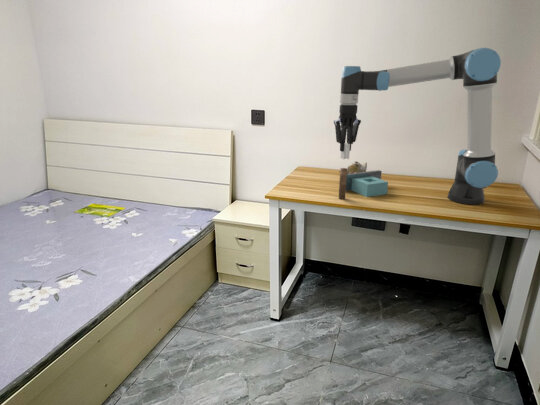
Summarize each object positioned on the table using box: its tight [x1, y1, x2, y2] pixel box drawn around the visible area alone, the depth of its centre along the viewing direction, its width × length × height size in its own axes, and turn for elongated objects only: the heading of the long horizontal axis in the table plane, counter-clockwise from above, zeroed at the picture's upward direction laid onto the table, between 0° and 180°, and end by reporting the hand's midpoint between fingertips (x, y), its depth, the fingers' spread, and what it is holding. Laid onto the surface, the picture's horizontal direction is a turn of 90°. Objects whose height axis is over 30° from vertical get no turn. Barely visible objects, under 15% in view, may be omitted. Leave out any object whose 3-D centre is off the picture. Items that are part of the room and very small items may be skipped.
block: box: [350, 176, 389, 198], centre depth 191 cm, size 12×12×6 cm
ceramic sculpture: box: [338, 161, 368, 174], centre depth 220 cm, size 11×9×15 cm
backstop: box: [338, 169, 382, 192], centre depth 196 cm, size 2×24×8 cm, turn 115°
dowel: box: [338, 167, 348, 200], centre depth 180 cm, size 3×3×14 cm
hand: (344, 158), depth 176 cm, fingers closed
